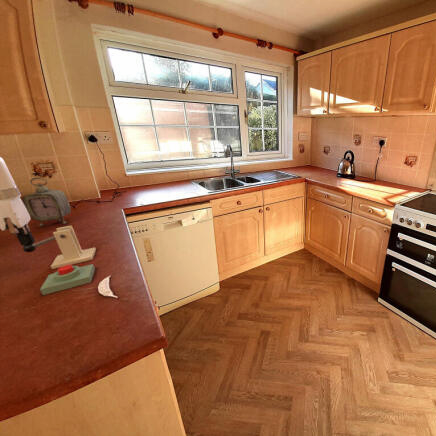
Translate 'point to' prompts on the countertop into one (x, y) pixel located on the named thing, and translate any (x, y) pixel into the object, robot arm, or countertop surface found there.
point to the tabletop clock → (46, 204)
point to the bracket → (70, 248)
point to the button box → (68, 279)
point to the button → (65, 269)
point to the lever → (37, 244)
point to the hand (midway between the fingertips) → (28, 243)
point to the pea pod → (105, 288)
